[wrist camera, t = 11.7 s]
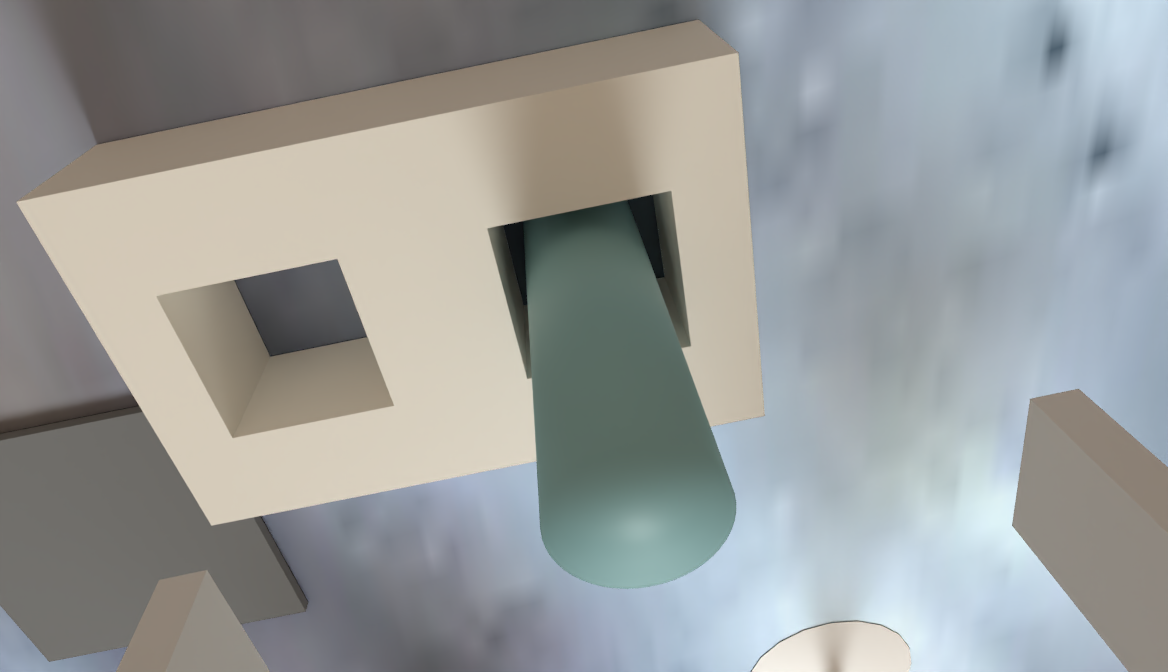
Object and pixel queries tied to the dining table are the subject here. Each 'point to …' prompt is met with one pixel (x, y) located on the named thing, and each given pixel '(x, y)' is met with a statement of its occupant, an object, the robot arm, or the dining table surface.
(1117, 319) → the dining table surface
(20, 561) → the mat
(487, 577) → the dining table surface
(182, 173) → the hole block
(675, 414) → the peg
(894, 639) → the wineglass
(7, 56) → the dining table surface
